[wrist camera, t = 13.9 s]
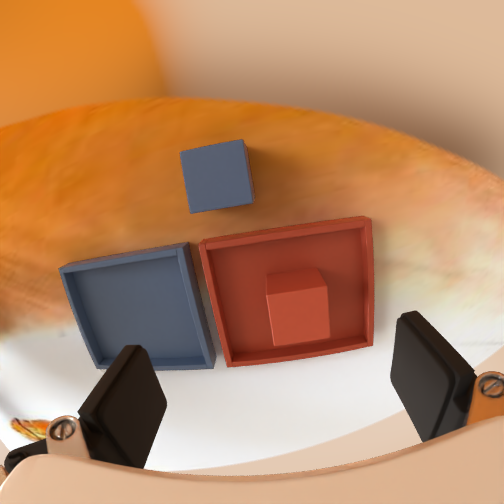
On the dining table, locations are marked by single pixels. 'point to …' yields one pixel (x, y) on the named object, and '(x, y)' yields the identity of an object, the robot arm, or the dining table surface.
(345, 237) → the red tray
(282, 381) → the dining table surface
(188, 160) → the blue block
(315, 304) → the red block
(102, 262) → the blue tray
